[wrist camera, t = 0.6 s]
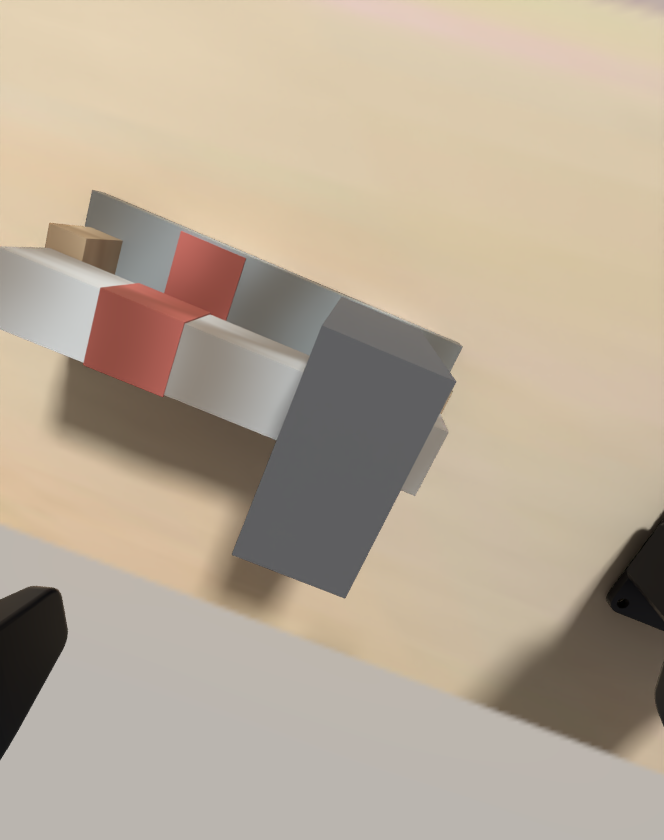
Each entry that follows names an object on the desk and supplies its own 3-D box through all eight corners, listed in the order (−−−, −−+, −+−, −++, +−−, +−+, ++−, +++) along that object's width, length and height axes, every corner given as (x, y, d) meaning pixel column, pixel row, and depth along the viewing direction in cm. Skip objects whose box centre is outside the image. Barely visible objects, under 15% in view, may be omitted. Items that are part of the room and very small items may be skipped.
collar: (420, 329, 17) (456, 381, 10) (354, 471, 19) (345, 598, 12) (341, 296, 17) (321, 325, 10) (283, 443, 19) (231, 554, 12)
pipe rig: (458, 342, 18) (494, 377, 13) (392, 475, 20) (400, 551, 15) (104, 192, 17) (-9, 165, 12) (71, 346, 19) (-38, 379, 14)
